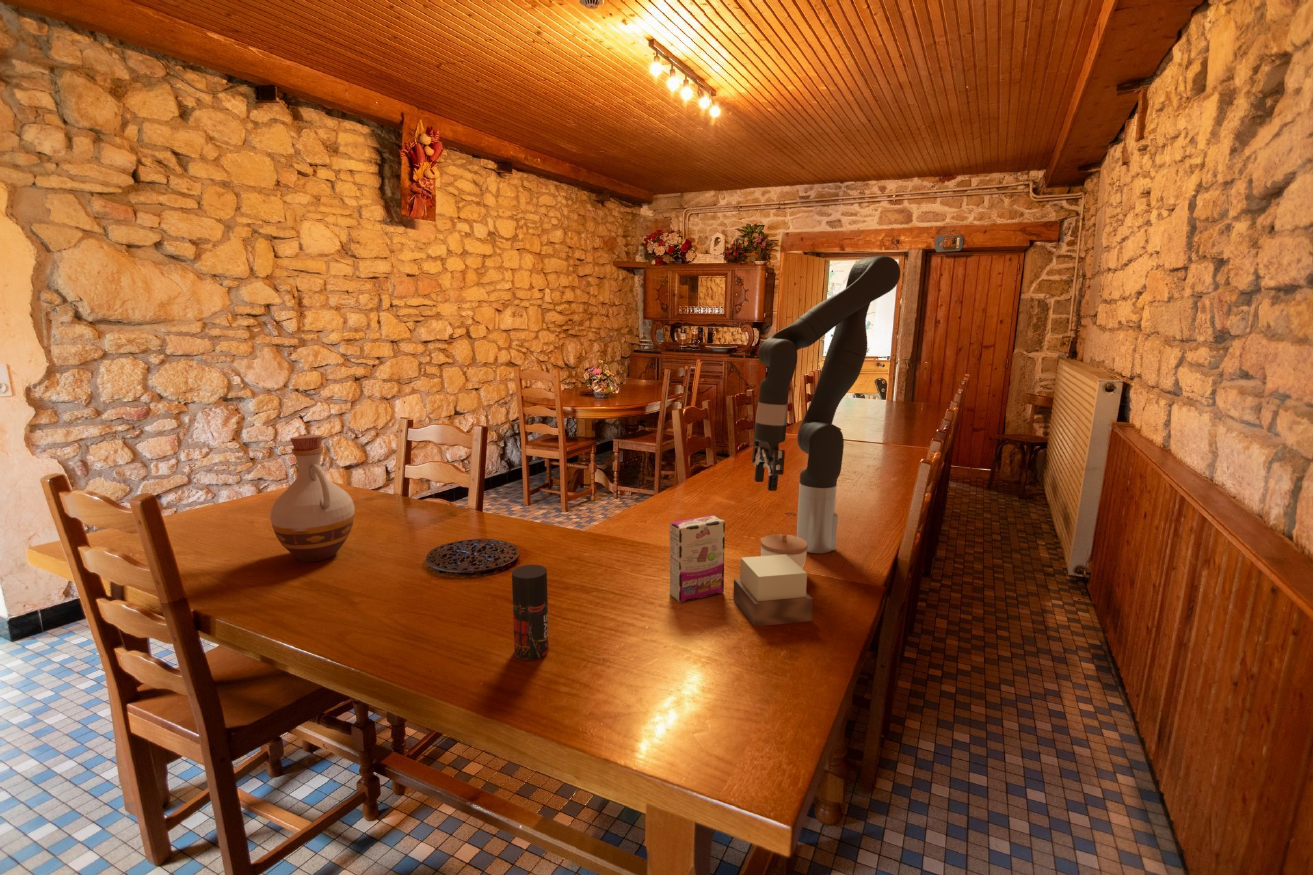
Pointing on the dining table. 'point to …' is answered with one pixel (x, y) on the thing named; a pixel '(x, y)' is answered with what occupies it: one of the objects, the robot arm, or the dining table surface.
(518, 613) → the deodorant
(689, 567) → the candy bar box
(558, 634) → the dining table surface
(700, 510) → the dining table surface
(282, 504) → the jug
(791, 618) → the walnut slab
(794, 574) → the cream square block
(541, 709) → the dining table surface
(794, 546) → the lidded jar
